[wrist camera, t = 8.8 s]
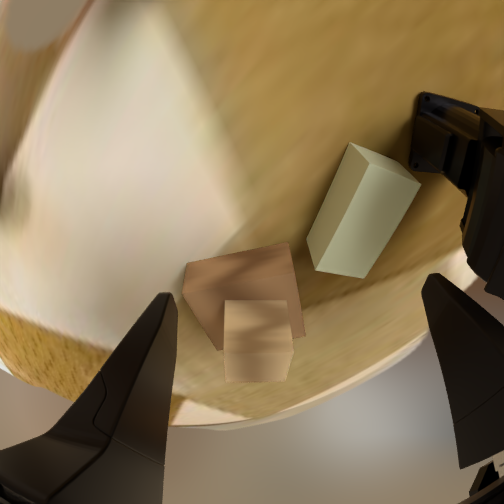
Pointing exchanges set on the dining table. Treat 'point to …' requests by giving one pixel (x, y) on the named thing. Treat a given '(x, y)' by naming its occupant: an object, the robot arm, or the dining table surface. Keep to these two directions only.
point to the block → (360, 212)
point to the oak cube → (257, 340)
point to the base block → (242, 286)
